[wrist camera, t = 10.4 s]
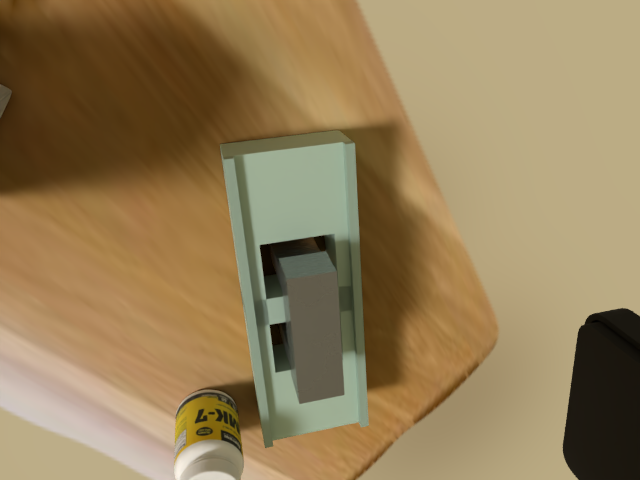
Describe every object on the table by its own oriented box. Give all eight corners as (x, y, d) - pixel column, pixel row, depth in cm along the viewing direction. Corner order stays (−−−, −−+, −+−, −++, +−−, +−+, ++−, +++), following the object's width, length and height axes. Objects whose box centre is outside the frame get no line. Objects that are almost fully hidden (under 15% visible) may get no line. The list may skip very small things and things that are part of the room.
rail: (219, 144, 37) (223, 159, 33) (338, 129, 38) (354, 143, 34) (258, 412, 46) (265, 447, 42) (354, 392, 47) (368, 425, 43)
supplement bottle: (246, 395, 45) (259, 475, 37) (223, 441, 46) (230, 527, 38) (189, 380, 43) (190, 460, 35) (166, 428, 44) (162, 515, 37)
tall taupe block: (268, 229, 40) (286, 279, 33) (309, 224, 40) (337, 271, 33) (280, 338, 43) (299, 404, 36) (318, 331, 44) (344, 395, 37)
